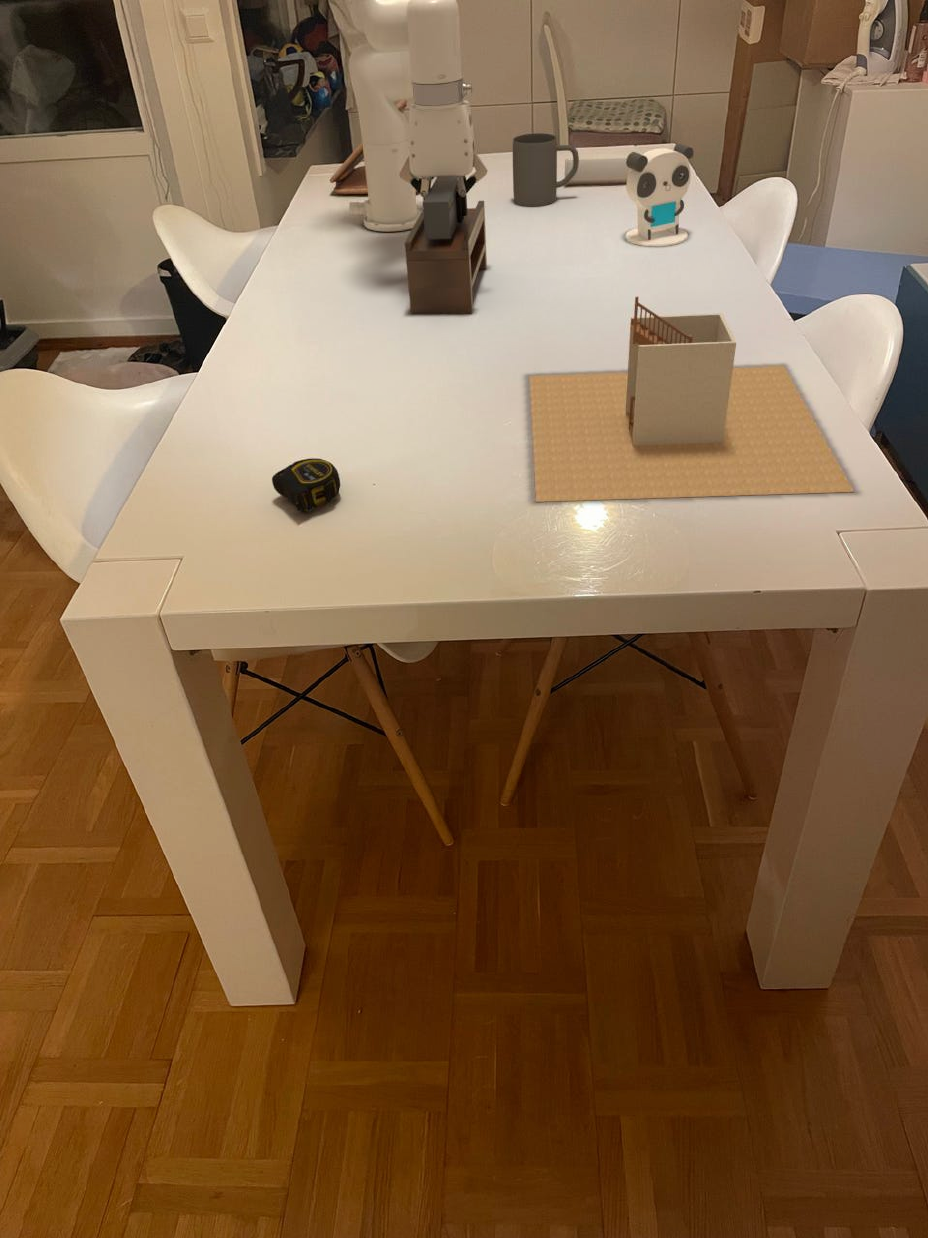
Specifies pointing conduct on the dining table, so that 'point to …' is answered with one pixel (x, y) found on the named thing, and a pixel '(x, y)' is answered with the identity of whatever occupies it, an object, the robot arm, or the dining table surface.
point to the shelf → (446, 265)
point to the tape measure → (308, 483)
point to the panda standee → (658, 194)
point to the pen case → (441, 209)
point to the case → (356, 170)
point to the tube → (598, 171)
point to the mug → (538, 168)
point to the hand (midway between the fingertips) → (446, 219)
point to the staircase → (677, 423)
